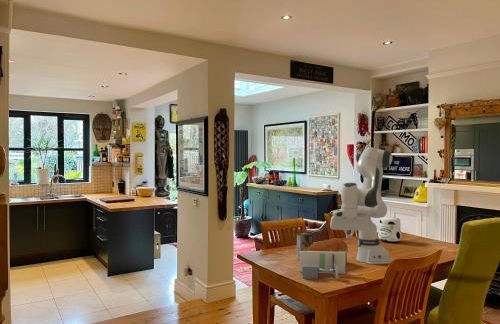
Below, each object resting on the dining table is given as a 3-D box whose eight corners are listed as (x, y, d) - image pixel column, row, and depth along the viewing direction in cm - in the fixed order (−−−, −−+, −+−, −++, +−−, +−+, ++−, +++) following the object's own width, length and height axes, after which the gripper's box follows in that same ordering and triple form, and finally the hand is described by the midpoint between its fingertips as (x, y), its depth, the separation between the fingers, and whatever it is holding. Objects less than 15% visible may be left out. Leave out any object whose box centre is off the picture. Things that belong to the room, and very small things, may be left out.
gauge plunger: (334, 272, 210) (334, 254, 210) (338, 279, 199) (338, 260, 198) (314, 271, 211) (314, 253, 211) (316, 278, 199) (316, 259, 199)
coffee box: (309, 256, 246) (309, 232, 246) (313, 259, 240) (313, 234, 239) (296, 257, 243) (296, 233, 243) (300, 260, 237) (300, 235, 237)
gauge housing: (344, 273, 212) (345, 252, 211) (348, 279, 200) (349, 257, 199) (299, 271, 213) (299, 250, 213) (300, 278, 201) (301, 256, 201)
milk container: (378, 242, 288) (378, 219, 288) (377, 238, 305) (378, 216, 305) (402, 244, 283) (402, 220, 283) (400, 239, 300) (400, 217, 300)
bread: (331, 258, 242) (331, 236, 241) (348, 263, 232) (348, 239, 232) (306, 266, 225) (306, 241, 225) (322, 271, 216) (323, 245, 215)
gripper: (367, 212, 204) (367, 237, 204) (329, 211, 205) (329, 236, 206) (370, 214, 198) (370, 240, 198) (331, 213, 199) (331, 238, 199)
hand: (349, 238), depth 202 cm, fingers closed
